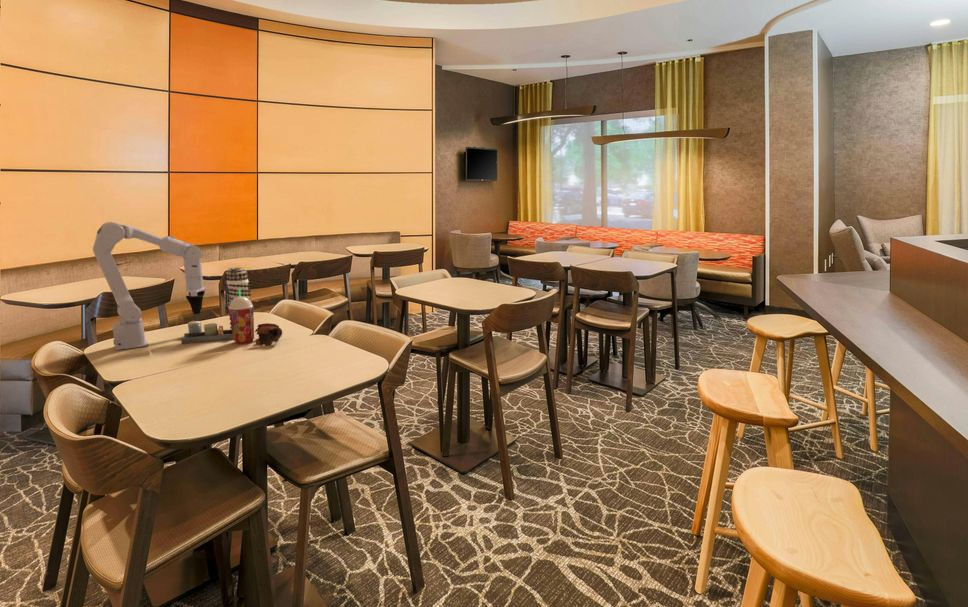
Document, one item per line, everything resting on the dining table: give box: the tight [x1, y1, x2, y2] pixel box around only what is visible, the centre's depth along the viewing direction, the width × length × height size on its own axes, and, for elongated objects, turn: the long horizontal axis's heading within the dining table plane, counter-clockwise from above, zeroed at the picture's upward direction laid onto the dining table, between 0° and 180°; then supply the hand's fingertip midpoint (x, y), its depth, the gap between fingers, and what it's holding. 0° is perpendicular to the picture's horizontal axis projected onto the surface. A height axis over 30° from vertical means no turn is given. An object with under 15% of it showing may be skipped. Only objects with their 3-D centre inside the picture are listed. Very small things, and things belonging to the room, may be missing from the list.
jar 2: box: [203, 322, 219, 336], centre depth 200 cm, size 4×4×5 cm
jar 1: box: [187, 320, 203, 333], centre depth 206 cm, size 4×4×5 cm
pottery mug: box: [254, 322, 283, 346], centre depth 197 cm, size 12×10×8 cm
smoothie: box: [227, 289, 255, 345], centre depth 194 cm, size 8×8×20 cm
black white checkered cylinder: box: [225, 267, 252, 330], centre depth 213 cm, size 9×9×25 cm
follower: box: [217, 325, 224, 335], centre depth 202 cm, size 1×6×4 cm, turn 21°
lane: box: [180, 328, 234, 345], centre depth 200 cm, size 18×8×4 cm, turn 111°
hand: (197, 311), depth 205 cm, fingers open, 7 cm apart
